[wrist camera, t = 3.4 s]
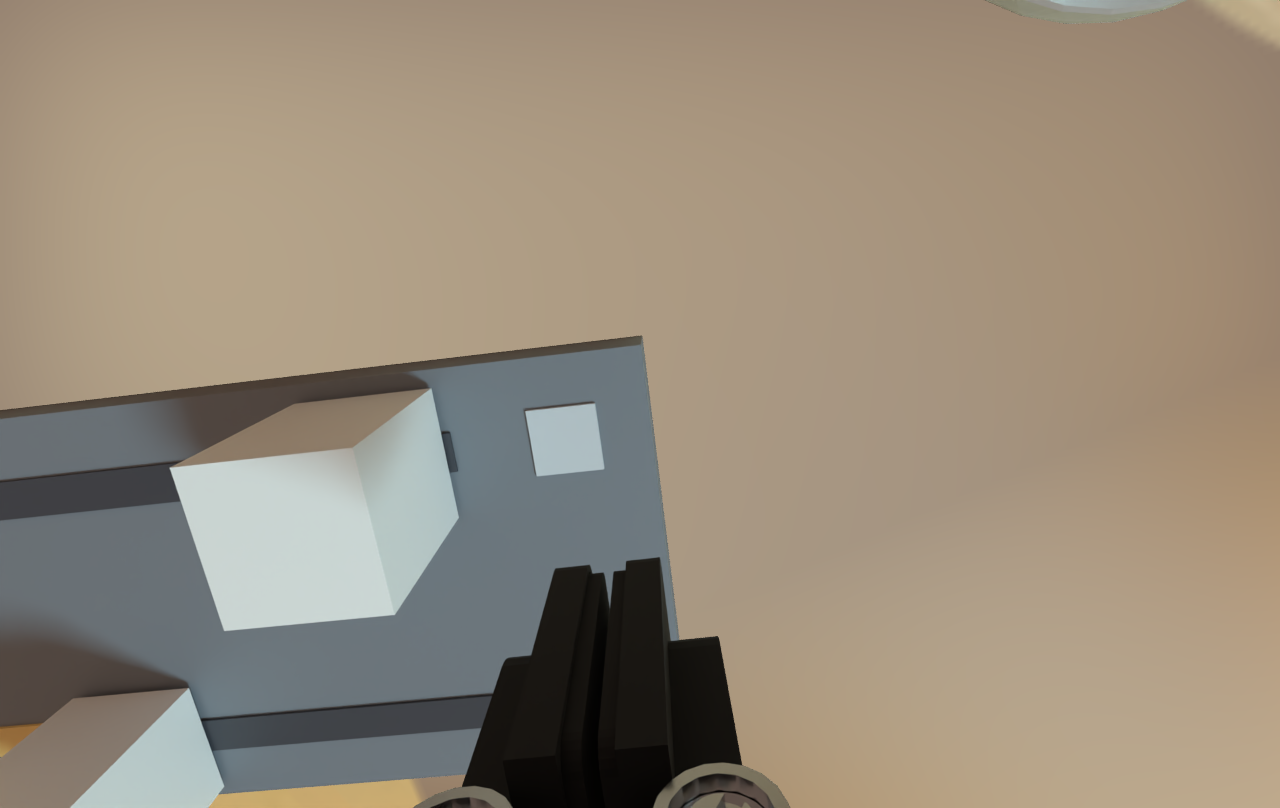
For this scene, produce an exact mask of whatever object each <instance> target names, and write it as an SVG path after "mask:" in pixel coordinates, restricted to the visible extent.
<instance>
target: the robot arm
mask: <svg viewBox="0 0 1280 808" xmlns="http://www.w3.org/2000/svg"><path fill="white" fill-rule="evenodd" d="M986 1H988V2H990V3H993V4H995V5H997V6H1000V7H1002V8H1004V9H1007V10H1009V11H1011V12H1014V13H1016V14H1019V15H1021V16H1027V17H1032V18H1037V19H1043V20H1049V21H1054V22H1059V23H1065V24H1072V23H1099V22H1100V23H1101V22H1115V21H1120V20H1124V19H1128V18H1133V17H1137V16H1141V15H1145V14H1149V13H1154V12H1158V11H1162V10H1164V9H1167V8H1169V7H1172V6H1174V5H1176V4H1178V3H1181V2H1184V1H1186V0H986ZM414 808H790V806H789V804H788V802H787V800H786V799H785V797H784V796H783V794H782V793H781V791H780V789H779V788H778V786H777V785H775V784H774V783H773V782H772V781H770V780H769V779H768V778H767V777H765V776H764V775H763V774H762V773H759V772H757V771H754V770H753V769H750V768H748V767H746V766H743V765H742V762H741V756H740V752H739V745H738V741H737V735H736V730H735V723H734V718H733V713H732V708H731V702H730V696H729V691H728V685H727V680H726V674H725V669H724V663H723V658H722V653H721V647H720V641H719V638H718V636H715V637H705V638H696V639H686V640H676V641H671V638H670V630H669V622H668V614H667V606H666V598H665V590H664V582H663V574H662V566H661V560H660V557H657V558H648V559H638V560H629V561H626V568H625V570H621V571H614V572H613V582H612V592H611V603H610V606H609V599H608V592H607V586H606V580H605V575H604V573H592V569H591V566H590V565H582V566H573V567H563V568H555V570H554V573H553V576H552V580H551V584H550V587H549V591H548V595H547V598H546V602H545V606H544V610H543V613H542V617H541V621H540V624H539V628H538V632H537V635H536V639H535V643H534V646H533V650H532V654H531V655H529V656H519V657H509V658H507V659H505V661H504V663H503V665H502V668H501V671H500V674H499V677H498V680H497V683H496V686H495V689H494V692H493V695H492V698H491V701H490V704H489V707H488V710H487V713H486V716H485V719H484V722H483V725H482V728H481V731H480V734H479V737H478V740H477V743H476V746H475V749H474V752H473V755H472V758H471V761H470V764H469V767H468V770H467V773H466V776H465V779H464V782H463V785H462V787H459V788H453V789H451V790H447V791H444V792H441V793H439V794H436V795H434V796H432V797H430V798H428V799H427V800H425V801H423V802H421V803H420V804H418V805H416V806H415V807H414Z"/></svg>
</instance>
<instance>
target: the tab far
mask: <svg viewBox="0 0 1280 808" xmlns="http://www.w3.org/2000/svg"><path fill="white" fill-rule="evenodd" d="M223 787H224V784H223V781H222V779H221V776H220V773H219V770H218V767H217V765H216V762H215V759H214V756H213V754H212V751H211V748H210V745H209V742H208V740H207V737H206V734H205V731H204V729H203V726H202V723H201V720H200V717H199V715H198V712H197V709H196V706H195V704H194V701H193V698H192V695H191V692H190V690H189V688H183V689H172V690H161V691H150V692H139V693H128V694H117V695H106V696H95V697H84V698H73V699H72V700H71V701H69V702H68V703H67V704H66V705H64V706H63V707H62V708H61V709H60V710H58V711H57V712H56V713H55V714H54V715H52V716H51V717H50V718H49V719H47V720H46V721H45V722H44V723H43V724H41V725H40V726H39V727H38V728H37V729H35V730H34V731H33V732H32V733H30V734H29V735H28V736H27V737H26V738H24V739H23V740H22V741H21V742H20V743H18V744H17V745H16V746H15V747H13V748H12V749H11V750H10V751H9V752H7V753H6V754H5V755H4V756H3V757H1V758H0V808H208V807H209V806H210V805H211V803H212V802H213V801H214V799H215V798H216V797H217V795H218V794H219V793H220V791H221V790H222V789H223Z"/></svg>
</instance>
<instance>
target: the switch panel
mask: <svg viewBox="0 0 1280 808" xmlns="http://www.w3.org/2000/svg"><path fill="white" fill-rule="evenodd" d="M642 339H643V338H642V336H634V337H626V338H618V339H609V340H600V341H591V342H583V343H574V344H566V345H557V346H549V347H541V348H532V349H524V350H514V351H506V352H497V353H488V354H480V355H471V356H463V357H455V358H446V359H437V360H429V361H420V362H411V363H403V364H394V365H385V366H378V367H368V368H360V369H351V370H343V371H334V372H326V373H317V374H309V375H300V376H291V377H283V378H274V379H265V380H257V381H248V382H240V383H232V384H223V385H214V386H206V387H197V388H188V389H180V390H171V391H163V392H154V393H146V394H137V395H129V396H119V397H111V398H103V399H94V400H85V401H77V402H68V403H60V404H51V405H42V406H34V407H25V408H18V409H8V410H0V758H1V757H3V756H4V755H5V754H6V753H7V752H9V751H10V750H11V749H12V748H13V747H15V746H16V745H17V744H18V743H20V742H21V741H22V740H23V739H24V738H26V737H27V736H28V735H29V734H30V733H32V732H33V731H34V730H35V729H37V728H38V727H39V726H40V725H41V724H43V723H44V722H45V721H46V720H47V719H49V718H50V717H51V716H52V715H54V714H55V713H56V712H57V711H58V710H60V709H61V708H62V707H63V706H64V705H66V704H67V703H68V702H69V701H71V700H72V699H73V698H84V697H95V696H106V695H117V694H128V693H139V692H150V691H161V690H172V689H183V688H189V690H190V692H191V695H192V698H193V701H194V704H195V706H196V709H197V712H198V715H199V717H200V720H201V723H202V726H203V729H204V731H205V734H206V737H207V740H208V742H209V745H210V748H211V751H212V754H213V756H214V759H215V762H216V765H217V767H218V770H219V773H220V776H221V779H222V781H223V784H224V787H223V789H222V790H221V791H220V793H219V794H228V793H240V792H253V791H265V790H277V789H290V788H302V787H315V786H327V785H339V784H352V783H364V782H377V781H389V780H401V779H414V778H426V777H439V776H451V775H464V774H466V773H467V770H468V767H469V764H470V761H471V758H472V755H473V752H474V749H475V746H476V743H477V740H478V737H479V734H480V731H481V728H482V725H483V722H484V719H485V716H486V713H487V710H488V707H489V704H490V701H491V698H492V695H493V692H494V689H495V686H496V683H497V680H498V677H499V674H500V671H501V668H502V665H503V663H504V661H505V659H507V658H509V657H519V656H529V655H531V654H532V650H533V646H534V643H535V639H536V635H537V632H538V628H539V624H540V621H541V617H542V613H543V610H544V606H545V602H546V598H547V595H548V591H549V587H550V584H551V580H552V576H553V573H554V570H555V568H563V567H573V566H582V565H590V566H591V569H592V573H604V575H605V580H606V586H607V592H608V599H609V606H610V603H611V592H612V582H613V572H614V571H621V570H625V568H626V561H629V560H638V559H648V558H657V557H660V560H661V566H662V574H663V582H664V590H665V598H666V606H667V614H668V622H669V630H670V638H671V641H676V640H679V634H678V625H677V617H676V609H675V601H674V593H673V585H672V576H671V568H670V561H669V552H668V543H667V535H666V528H665V520H664V511H663V503H662V494H661V486H660V478H659V470H658V461H657V453H656V445H655V437H654V429H653V420H652V412H651V405H650V396H649V388H648V379H647V372H646V363H645V355H644V347H643V340H642ZM428 388H431V389H432V394H433V399H434V403H435V408H436V413H437V417H438V422H439V427H440V431H441V436H442V441H443V445H444V450H445V455H446V460H447V464H448V469H449V474H450V478H451V483H452V488H453V492H454V497H455V502H456V506H457V511H458V516H459V518H458V520H457V521H456V523H455V524H454V526H453V527H452V529H451V530H450V532H449V533H448V535H447V536H446V538H445V539H444V541H443V542H442V544H441V546H440V547H439V549H438V550H437V552H436V553H435V555H434V556H433V558H432V559H431V561H430V562H429V564H428V565H427V567H426V568H425V570H424V571H423V573H422V574H421V576H420V577H419V579H418V580H417V582H416V583H415V585H414V587H413V588H412V590H411V591H410V593H409V594H408V596H407V597H406V599H405V600H404V602H403V603H402V605H401V606H400V608H399V609H398V611H397V612H396V614H395V615H389V616H378V617H368V618H357V619H347V620H336V621H325V622H315V623H304V624H294V625H283V626H273V627H262V628H252V629H241V630H231V631H224V629H223V626H222V623H221V620H220V617H219V614H218V611H217V608H216V605H215V602H214V599H213V596H212V593H211V590H210V587H209V584H208V581H207V578H206V575H205V572H204V569H203V566H202V563H201V560H200V557H199V554H198V551H197V548H196V545H195V542H194V539H193V536H192V533H191V530H190V527H189V524H188V521H187V518H186V515H185V512H184V509H183V506H182V503H181V500H180V497H179V494H178V491H177V488H176V485H175V482H174V479H173V476H172V473H171V470H170V467H172V466H174V465H176V464H178V463H180V462H182V461H184V460H186V459H188V458H190V457H192V456H194V455H196V454H197V453H199V452H201V451H203V450H205V449H207V448H209V447H211V446H213V445H215V444H217V443H219V442H221V441H223V440H225V439H227V438H229V437H231V436H233V435H234V434H236V433H238V432H240V431H242V430H244V429H246V428H248V427H250V426H252V425H254V424H256V423H258V422H260V421H262V420H264V419H266V418H268V417H270V416H271V415H273V414H275V413H277V412H279V411H281V410H283V409H285V408H287V407H289V406H291V405H293V404H297V403H305V402H314V401H323V400H332V399H340V398H349V397H358V396H367V395H376V394H384V393H393V392H402V391H411V390H419V389H428Z"/></svg>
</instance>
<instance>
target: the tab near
mask: <svg viewBox="0 0 1280 808" xmlns="http://www.w3.org/2000/svg"><path fill="white" fill-rule="evenodd" d="M170 470H171V473H172V476H173V479H174V482H175V485H176V488H177V491H178V494H179V497H180V500H181V503H182V506H183V509H184V512H185V515H186V518H187V521H188V524H189V527H190V530H191V533H192V536H193V539H194V542H195V545H196V548H197V551H198V554H199V557H200V560H201V563H202V566H203V569H204V572H205V575H206V578H207V581H208V584H209V587H210V590H211V593H212V596H213V599H214V602H215V605H216V608H217V611H218V614H219V617H220V620H221V623H222V626H223V629H224V631H231V630H241V629H252V628H262V627H273V626H283V625H294V624H304V623H315V622H325V621H336V620H347V619H357V618H368V617H378V616H389V615H395V614H396V612H397V611H398V609H399V608H400V606H401V605H402V603H403V602H404V600H405V599H406V597H407V596H408V594H409V593H410V591H411V590H412V588H413V587H414V585H415V583H416V582H417V580H418V579H419V577H420V576H421V574H422V573H423V571H424V570H425V568H426V567H427V565H428V564H429V562H430V561H431V559H432V558H433V556H434V555H435V553H436V552H437V550H438V549H439V547H440V546H441V544H442V542H443V541H444V539H445V538H446V536H447V535H448V533H449V532H450V530H451V529H452V527H453V526H454V524H455V523H456V521H457V520H458V518H459V516H458V511H457V506H456V502H455V497H454V492H453V488H452V483H451V478H450V474H449V469H448V464H447V460H446V455H445V450H444V445H443V441H442V436H441V431H440V427H439V422H438V417H437V413H436V408H435V403H434V399H433V394H432V389H431V388H428V389H419V390H411V391H402V392H393V393H384V394H376V395H367V396H358V397H349V398H340V399H332V400H323V401H314V402H305V403H297V404H293V405H291V406H289V407H287V408H285V409H283V410H281V411H279V412H277V413H275V414H273V415H271V416H270V417H268V418H266V419H264V420H262V421H260V422H258V423H256V424H254V425H252V426H250V427H248V428H246V429H244V430H242V431H240V432H238V433H236V434H234V435H233V436H231V437H229V438H227V439H225V440H223V441H221V442H219V443H217V444H215V445H213V446H211V447H209V448H207V449H205V450H203V451H201V452H199V453H197V454H196V455H194V456H192V457H190V458H188V459H186V460H184V461H182V462H180V463H178V464H176V465H174V466H172V467H170Z"/></svg>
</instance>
